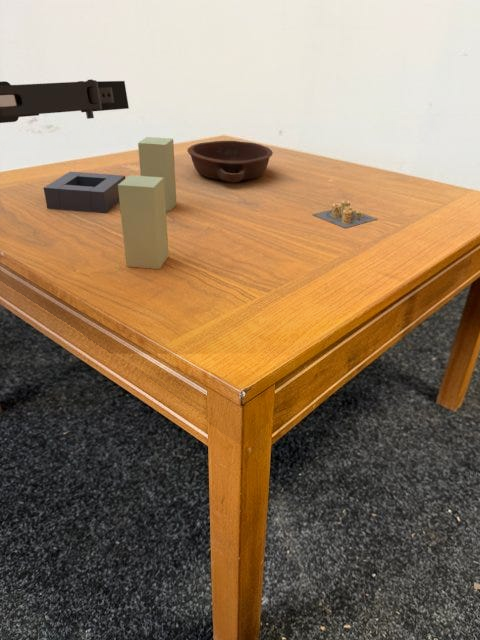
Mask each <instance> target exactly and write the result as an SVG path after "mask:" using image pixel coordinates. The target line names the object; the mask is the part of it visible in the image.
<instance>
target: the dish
mask: <svg viewBox="0 0 480 640" xmlns="http://www.w3.org/2000/svg"><path fill="white" fill-rule="evenodd" d="M186 151H187V153H188V155H190V157H191V161H192V164H193V167H194V168H195V170H196V172H197V173H198V174H199V175H201V176H204V177H207V178H210V179H215V180H220V181H224V182H229V183H238V182H239V183H240V181H247V180H252V179H256V178H259V177H261V176H262V175H263V174H264V173H265V172H266V170H267V168H268V165H269V161H270V158H271V157H272V156H273V154H274V152H273V151H272V149H271V148H269V147H267V146H265V145H262V144H260V143H255V142H249V141H239V140H215V141H206V142H200V143H199V142H198V143H195V144H192V145H191V146H189V147H187V150H186Z"/></svg>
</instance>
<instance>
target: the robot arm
mask: <svg viewBox="0 0 480 640" xmlns="http://www.w3.org/2000/svg"><path fill="white" fill-rule="evenodd" d="M127 94H128V93H127V88H126V82H125V80H105V81H103V80H102V81H100V80H99V81H98V80H95V79H87V80H85V81H84V80H79V81H65V82H47V83H28V84H27V83H26V84H25V83H24V84H11V83H10V82H8V81H0V124H2V123H3V124H6V123H15V122H17V121H18V120H19V118H24V117H36V116H38V117H39V116H40V115H44V114H55V113H57V114H58V113H70V112H71V113H72V112H81V113H85V115H86V120H87V119H88V120H89V119H95V117H94V115H95V114H94V112H102V111H103V112H104V111H116V110H117V111H118V110H129V109H130V107H129V100H128V95H127Z"/></svg>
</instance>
